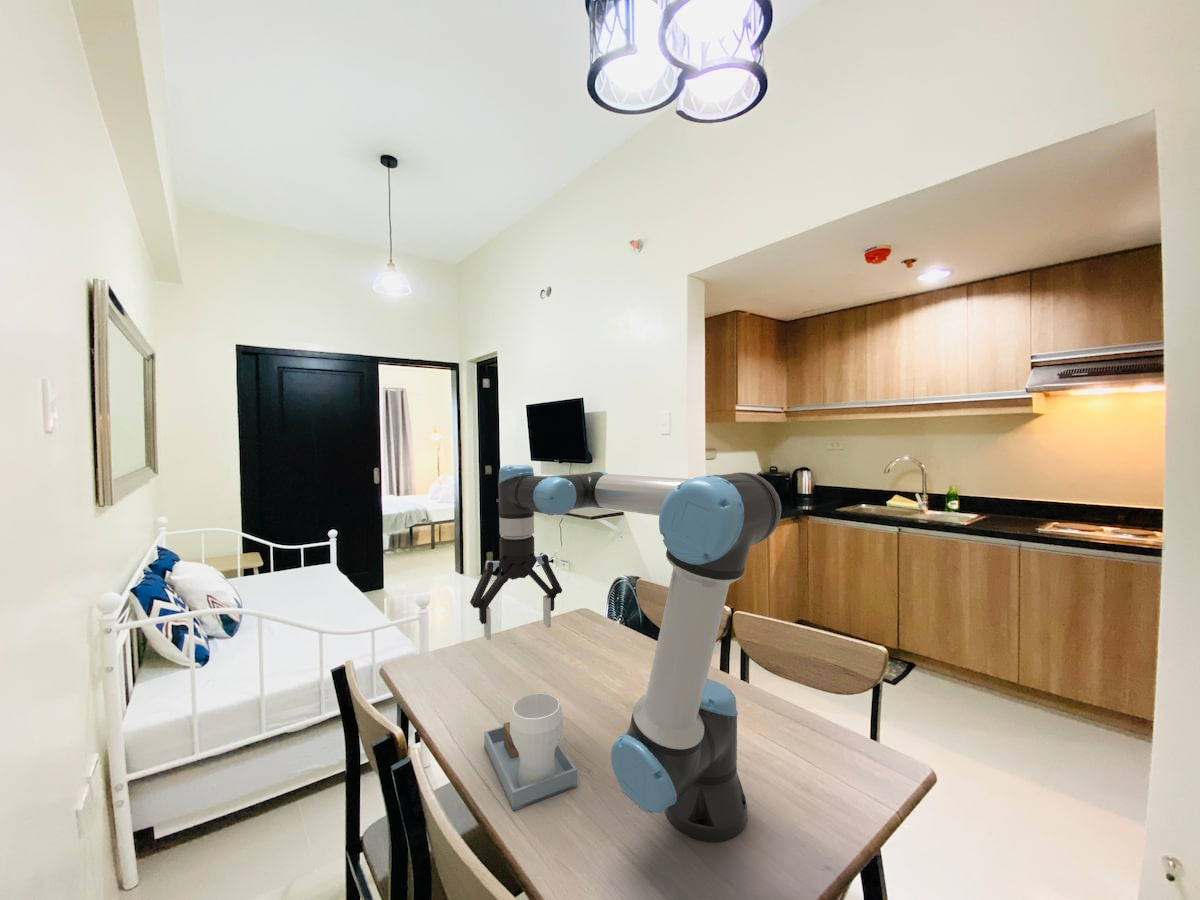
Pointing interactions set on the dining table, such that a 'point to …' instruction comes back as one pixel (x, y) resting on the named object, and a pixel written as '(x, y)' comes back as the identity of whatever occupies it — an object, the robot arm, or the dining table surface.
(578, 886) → the dining table surface
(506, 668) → the dining table surface
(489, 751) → the tray
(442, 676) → the dining table surface
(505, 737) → the walnut cube
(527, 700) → the cup
